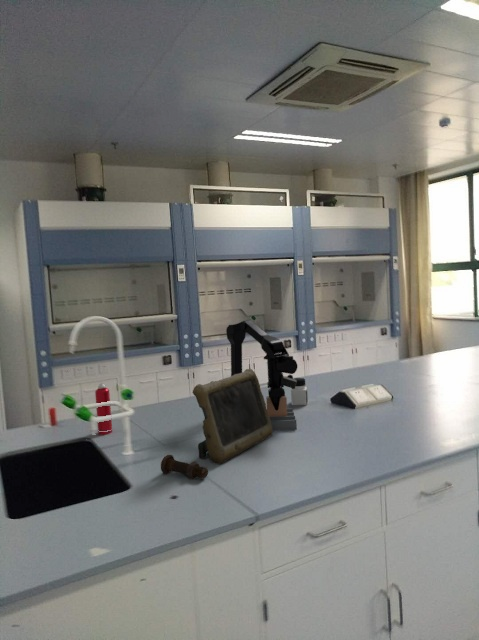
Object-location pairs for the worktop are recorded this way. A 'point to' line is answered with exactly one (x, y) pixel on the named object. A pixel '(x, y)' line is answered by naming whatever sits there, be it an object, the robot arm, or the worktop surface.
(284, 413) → the tall tan upright block
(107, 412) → the bottle
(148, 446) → the worktop surface
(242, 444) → the tablet
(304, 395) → the medicine bottle
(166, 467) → the bolt
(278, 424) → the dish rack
